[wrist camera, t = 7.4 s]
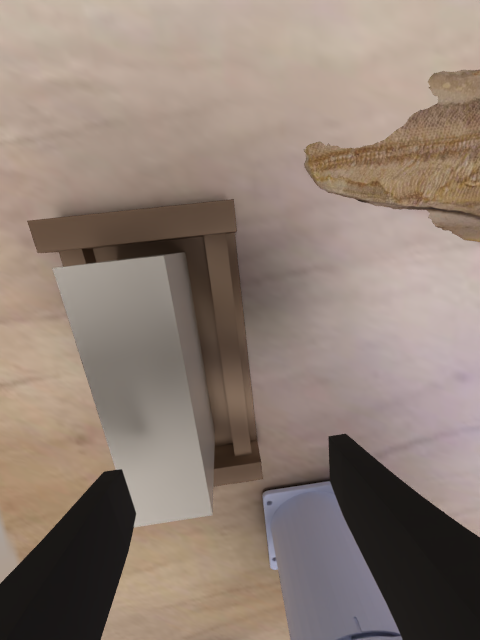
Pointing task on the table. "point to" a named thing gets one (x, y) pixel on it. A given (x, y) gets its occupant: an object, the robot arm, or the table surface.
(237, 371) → the rack
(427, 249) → the table surface
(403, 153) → the fish fossil
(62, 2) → the table surface
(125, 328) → the clay bar
